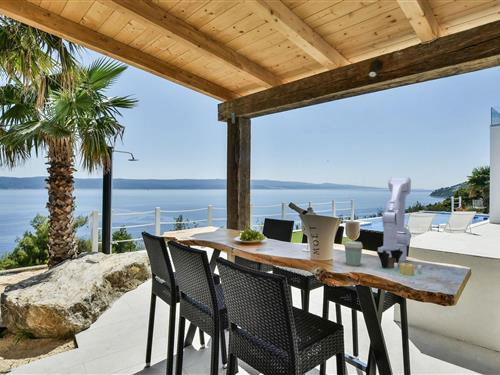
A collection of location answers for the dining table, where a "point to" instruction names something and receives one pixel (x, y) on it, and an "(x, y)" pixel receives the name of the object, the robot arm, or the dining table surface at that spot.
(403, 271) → the pale yellow block
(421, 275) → the gear board
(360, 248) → the coffee cup
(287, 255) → the dining table surface
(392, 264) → the gear
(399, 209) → the robot arm
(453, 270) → the dining table surface
